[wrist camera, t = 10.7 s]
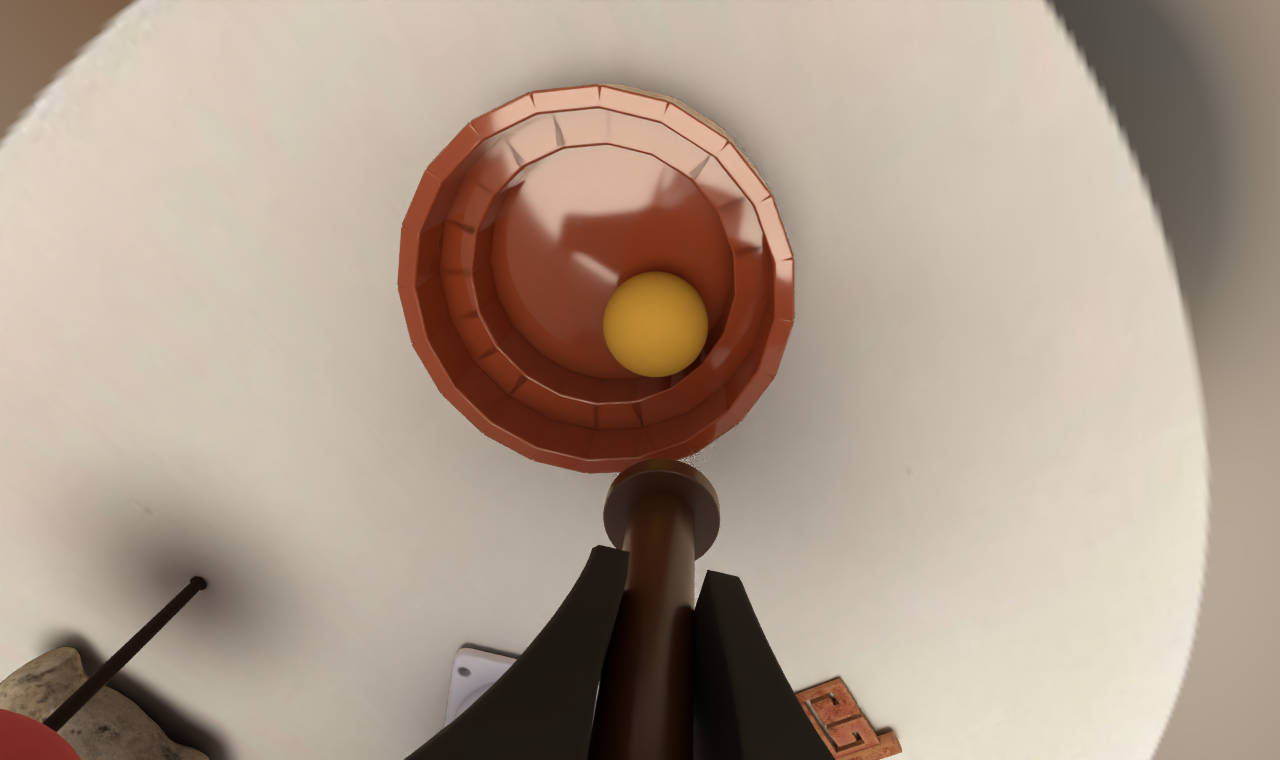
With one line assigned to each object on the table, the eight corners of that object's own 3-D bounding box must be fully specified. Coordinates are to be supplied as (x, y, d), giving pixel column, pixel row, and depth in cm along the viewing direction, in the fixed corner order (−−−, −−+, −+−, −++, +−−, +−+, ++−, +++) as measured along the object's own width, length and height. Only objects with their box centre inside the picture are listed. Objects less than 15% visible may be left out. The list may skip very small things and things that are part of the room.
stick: (725, 549, 17) (751, 936, 9) (617, 559, 17) (548, 939, 9) (711, 451, 16) (726, 789, 8) (596, 464, 16) (499, 799, 8)
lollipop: (325, 621, 28) (-44, 1148, 14) (190, 668, 29) (-252, 1172, 16) (207, 475, 25) (-388, 945, 11) (67, 536, 27) (-588, 1003, 13)
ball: (567, 319, 19) (639, 329, 21) (612, 397, 18) (684, 400, 20) (623, 240, 18) (694, 259, 20) (677, 317, 16) (747, 330, 18)
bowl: (726, 439, 22) (730, 508, 19) (438, 371, 22) (386, 426, 19) (824, 133, 18) (854, 145, 15) (471, 47, 18) (413, 38, 15)
